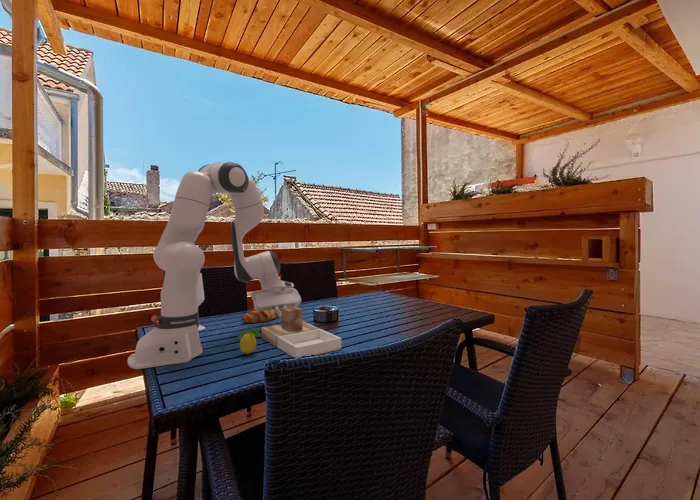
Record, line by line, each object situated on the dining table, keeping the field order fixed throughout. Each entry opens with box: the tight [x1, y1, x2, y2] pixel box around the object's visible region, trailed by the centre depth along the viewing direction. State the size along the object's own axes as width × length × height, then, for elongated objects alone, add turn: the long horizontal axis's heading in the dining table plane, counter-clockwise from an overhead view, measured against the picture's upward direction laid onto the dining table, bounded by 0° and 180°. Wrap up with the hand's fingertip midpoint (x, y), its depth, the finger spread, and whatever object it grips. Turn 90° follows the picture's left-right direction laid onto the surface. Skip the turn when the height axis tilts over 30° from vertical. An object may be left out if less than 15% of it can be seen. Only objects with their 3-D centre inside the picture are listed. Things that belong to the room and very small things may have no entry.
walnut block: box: [281, 306, 303, 332], centre depth 137 cm, size 6×6×8 cm
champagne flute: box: [197, 272, 206, 331], centre depth 151 cm, size 7×7×24 cm
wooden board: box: [260, 320, 319, 347], centre depth 139 cm, size 18×14×4 cm
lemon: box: [237, 327, 261, 356], centre depth 120 cm, size 7×6×10 cm
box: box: [277, 328, 342, 358], centre depth 127 cm, size 18×15×4 cm
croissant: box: [240, 307, 279, 324], centre depth 167 cm, size 21×10×8 cm, turn 136°
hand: (283, 316), depth 144 cm, fingers closed
